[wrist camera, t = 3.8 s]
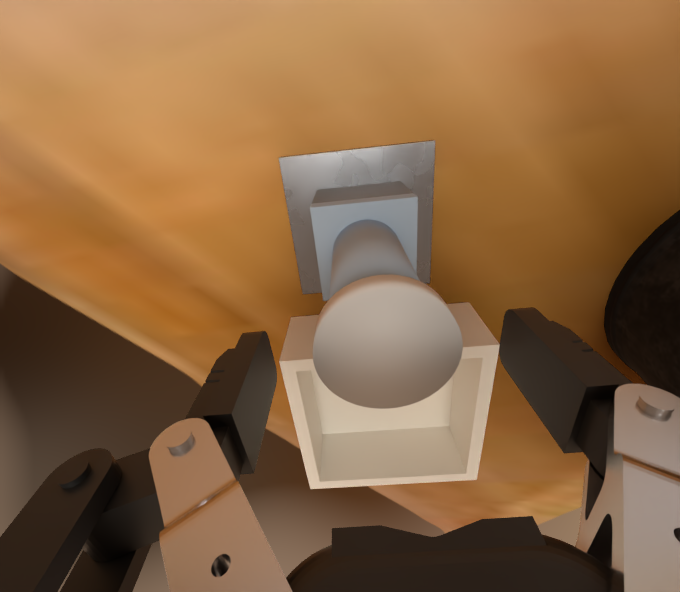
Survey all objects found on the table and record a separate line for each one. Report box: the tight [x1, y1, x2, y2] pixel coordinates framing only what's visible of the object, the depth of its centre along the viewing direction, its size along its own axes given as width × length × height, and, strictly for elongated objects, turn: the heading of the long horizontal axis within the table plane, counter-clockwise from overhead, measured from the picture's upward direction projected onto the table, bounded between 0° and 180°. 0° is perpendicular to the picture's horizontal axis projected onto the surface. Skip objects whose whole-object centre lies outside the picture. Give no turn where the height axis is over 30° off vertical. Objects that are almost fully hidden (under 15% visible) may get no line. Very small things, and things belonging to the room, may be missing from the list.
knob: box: [310, 181, 463, 409], centre depth 16 cm, size 6×6×14 cm
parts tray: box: [279, 302, 500, 489], centre depth 28 cm, size 15×15×6 cm
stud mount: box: [279, 140, 435, 294], centre depth 21 cm, size 10×10×5 cm
